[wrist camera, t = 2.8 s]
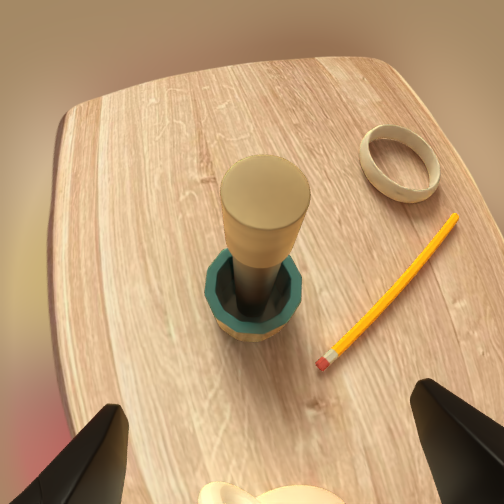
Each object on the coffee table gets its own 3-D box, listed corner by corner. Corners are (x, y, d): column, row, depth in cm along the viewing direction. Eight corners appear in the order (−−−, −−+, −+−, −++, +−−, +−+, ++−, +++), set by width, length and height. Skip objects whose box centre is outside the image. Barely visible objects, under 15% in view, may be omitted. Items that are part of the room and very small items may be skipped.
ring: (392, 219, 25) (402, 208, 23) (339, 147, 27) (345, 133, 25) (447, 189, 26) (457, 178, 24) (398, 127, 29) (405, 114, 27)
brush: (256, 327, 21) (280, 248, 8) (226, 307, 21) (201, 199, 8) (276, 298, 22) (326, 181, 8) (246, 279, 22) (253, 141, 9)
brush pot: (261, 356, 21) (267, 352, 16) (198, 313, 22) (186, 296, 17) (303, 294, 22) (319, 273, 18) (241, 254, 23) (241, 224, 18)
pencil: (313, 363, 20) (316, 362, 20) (451, 214, 25) (455, 211, 24) (321, 371, 20) (323, 371, 19) (456, 221, 25) (460, 217, 24)
